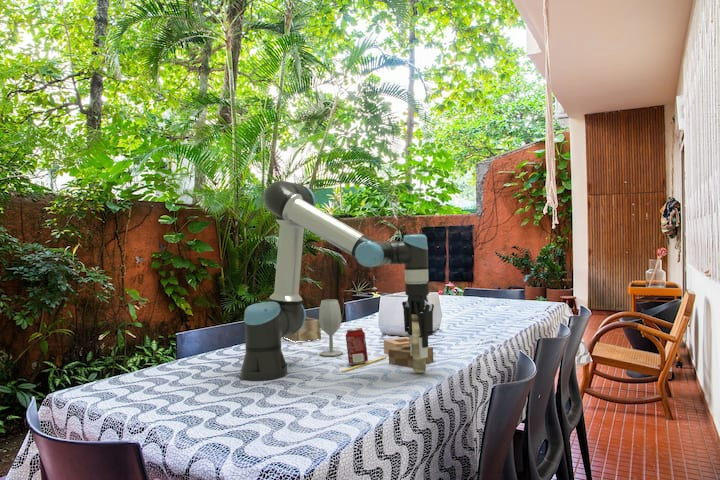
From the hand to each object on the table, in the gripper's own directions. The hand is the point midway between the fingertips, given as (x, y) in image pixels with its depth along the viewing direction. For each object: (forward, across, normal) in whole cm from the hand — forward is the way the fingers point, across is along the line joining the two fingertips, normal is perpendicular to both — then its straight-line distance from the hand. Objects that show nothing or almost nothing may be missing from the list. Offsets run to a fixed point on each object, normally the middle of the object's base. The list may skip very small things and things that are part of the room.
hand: (419, 356), depth 160 cm
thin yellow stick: (+6, +22, +7) cm, 23 cm away
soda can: (+6, +24, +8) cm, 26 cm away
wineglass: (+6, +45, +7) cm, 46 cm away
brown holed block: (+6, +14, -7) cm, 16 cm away
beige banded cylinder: (+5, 0, 0) cm, 5 cm away
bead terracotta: (+6, +28, -14) cm, 32 cm away
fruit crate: (+6, +84, +2) cm, 84 cm away
